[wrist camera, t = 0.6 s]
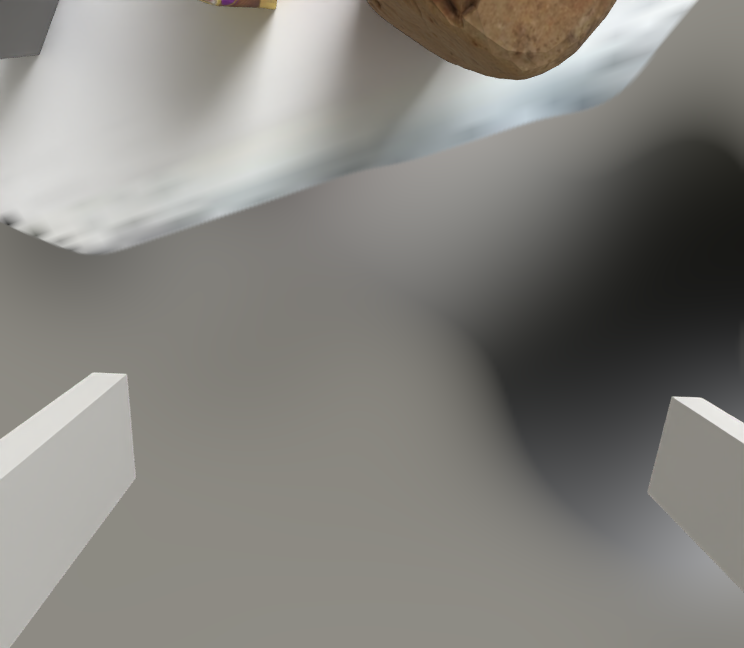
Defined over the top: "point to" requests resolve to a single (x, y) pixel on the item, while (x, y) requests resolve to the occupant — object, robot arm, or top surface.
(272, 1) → the candy box
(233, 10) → the top surface
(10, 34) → the domino
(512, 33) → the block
